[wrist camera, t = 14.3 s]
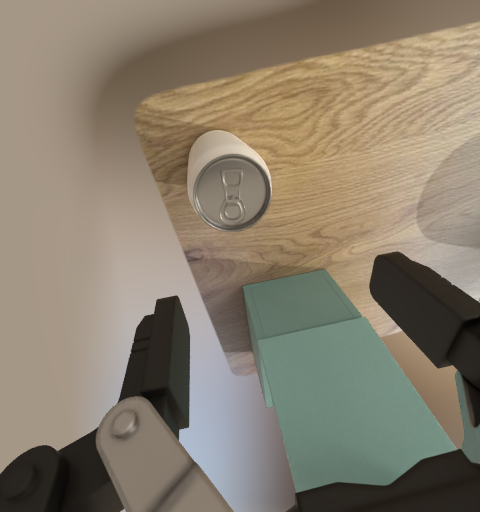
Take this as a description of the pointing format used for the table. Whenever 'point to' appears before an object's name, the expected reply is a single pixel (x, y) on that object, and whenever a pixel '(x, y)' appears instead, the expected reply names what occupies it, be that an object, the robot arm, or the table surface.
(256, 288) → the teal open box
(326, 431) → the lid
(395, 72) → the table surface
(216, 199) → the can
